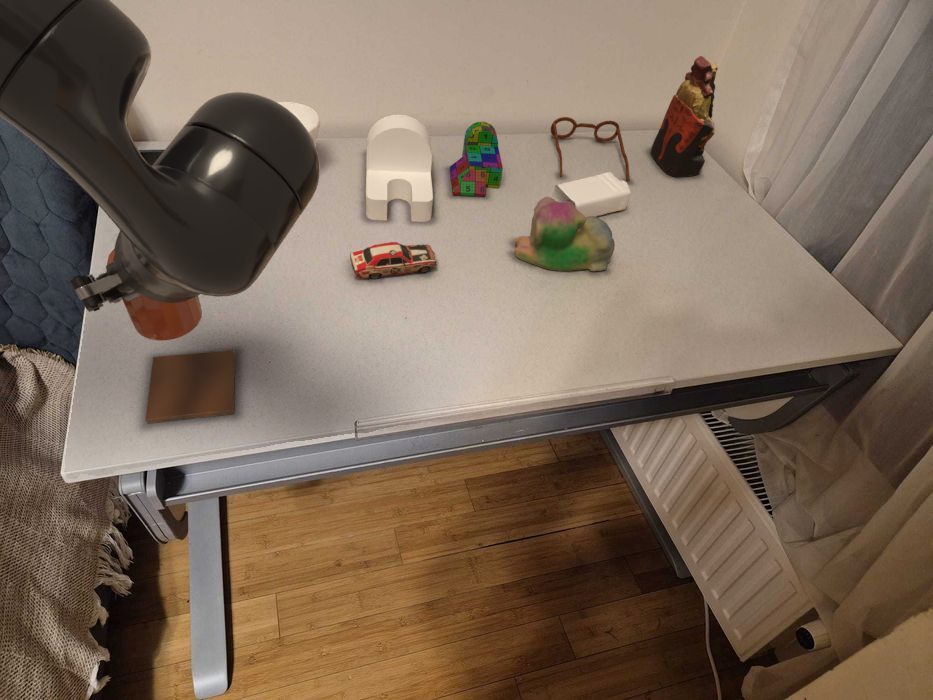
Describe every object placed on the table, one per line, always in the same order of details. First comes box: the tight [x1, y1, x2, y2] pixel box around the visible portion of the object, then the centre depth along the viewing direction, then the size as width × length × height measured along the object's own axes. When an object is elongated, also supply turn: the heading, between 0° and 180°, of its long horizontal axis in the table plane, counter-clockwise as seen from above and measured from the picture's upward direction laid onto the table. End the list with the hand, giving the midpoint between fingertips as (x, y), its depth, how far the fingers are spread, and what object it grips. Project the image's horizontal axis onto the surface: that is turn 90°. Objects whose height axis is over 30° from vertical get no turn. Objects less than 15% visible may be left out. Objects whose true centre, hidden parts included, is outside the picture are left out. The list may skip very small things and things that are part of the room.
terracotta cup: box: [106, 247, 203, 342], centre depth 59 cm, size 6×6×8 cm
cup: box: [276, 101, 321, 147], centre depth 97 cm, size 10×10×9 cm
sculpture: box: [514, 196, 616, 272], centre depth 90 cm, size 15×8×10 cm, turn 104°
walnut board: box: [144, 349, 235, 424], centre depth 71 cm, size 9×9×1 cm
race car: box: [349, 241, 437, 280], centre depth 87 cm, size 5×12×5 cm, turn 102°
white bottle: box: [550, 171, 632, 217], centre depth 102 cm, size 6×13×4 cm, turn 118°
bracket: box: [365, 114, 434, 223], centre depth 97 cm, size 19×10×11 cm, turn 5°
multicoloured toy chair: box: [449, 121, 504, 198], centre depth 103 cm, size 12×8×7 cm
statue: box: [650, 55, 719, 178], centre depth 109 cm, size 12×8×20 cm, turn 12°
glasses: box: [550, 116, 631, 182], centre depth 111 cm, size 13×13×5 cm
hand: (148, 276), depth 59 cm, fingers closed on terracotta cup, 6 cm apart
